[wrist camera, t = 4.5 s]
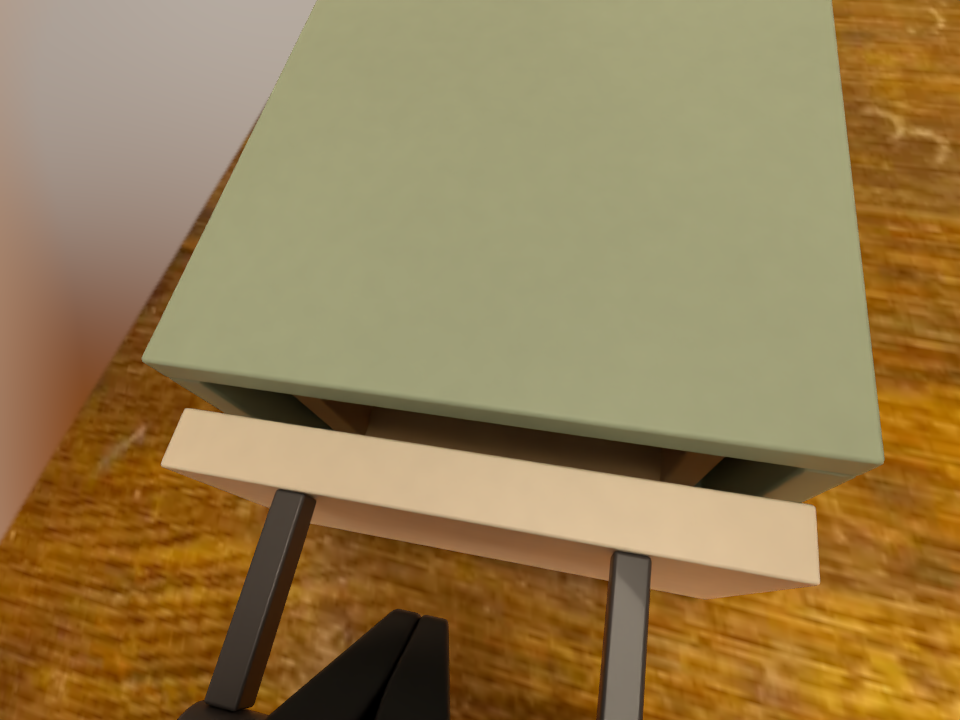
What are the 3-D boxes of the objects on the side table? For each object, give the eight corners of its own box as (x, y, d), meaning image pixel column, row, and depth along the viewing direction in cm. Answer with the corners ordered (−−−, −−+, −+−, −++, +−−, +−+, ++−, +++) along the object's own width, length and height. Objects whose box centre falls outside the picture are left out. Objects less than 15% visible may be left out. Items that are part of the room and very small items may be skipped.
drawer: (702, 840, 12) (871, 1095, 6) (246, 716, 14) (-9, 796, 8) (716, 99, 22) (785, -123, 15) (440, 92, 24) (397, -104, 17)
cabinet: (722, 541, 15) (887, 464, 8) (317, 471, 18) (137, 360, 10) (726, 72, 23) (810, -198, 16) (444, 68, 26) (397, -167, 18)
